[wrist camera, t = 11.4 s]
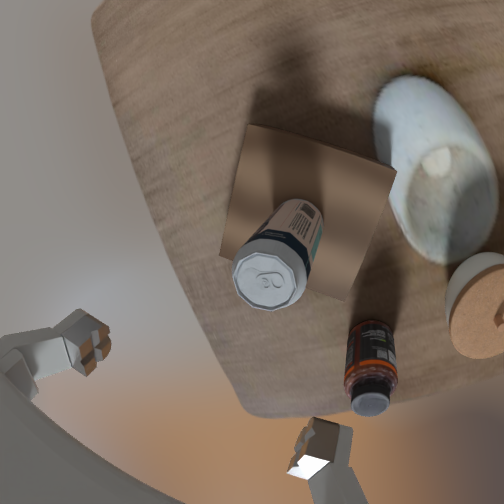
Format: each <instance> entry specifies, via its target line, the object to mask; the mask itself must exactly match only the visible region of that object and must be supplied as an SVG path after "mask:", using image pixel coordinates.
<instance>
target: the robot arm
mask: <svg viewBox="0 0 504 504" xmlns="http://www.w3.org/2000/svg"><path fill="white" fill-rule="evenodd" d="M109 333H110V330H109V326H107V325H106V324H104V323H102V322H101V321H99V320H98V319H96V318H94V317H93V316H91V315H90V314H88V313H87V312H85V311H83V310H82V309H76V310H75V311H74V312H72V313H71V314H70V315H69V316H67V317H66V318H65V319H64V320H62V321H61V322H60V323H59V324H57V325H56V326H55V327H54V328H50V327H48V328H43V329H38V330H32V331H26V332H21V333H15V334H9V335H4V336H3V337H2V338H0V504H185V503H183V502H181V501H179V500H177V499H175V498H172V497H170V496H168V495H166V494H164V493H162V492H160V491H158V490H156V489H154V488H153V487H151V486H149V485H147V484H145V483H143V482H141V481H140V480H138V479H136V478H134V477H133V476H131V475H129V474H127V473H126V472H124V471H122V470H121V469H119V468H118V467H116V466H114V465H113V464H111V463H109V462H108V461H106V460H105V459H104V458H102V457H101V456H99V455H98V454H96V453H95V452H93V451H92V450H90V449H89V448H88V447H86V446H85V445H83V444H82V443H80V442H79V441H78V440H77V439H75V438H74V437H73V436H71V435H70V434H69V433H67V432H66V431H65V430H64V429H62V428H61V427H60V426H59V425H57V424H56V423H55V422H54V421H52V419H50V418H49V417H48V416H47V415H46V414H45V413H43V412H42V411H41V410H40V409H39V408H38V407H36V405H34V404H33V403H32V402H31V400H32V399H33V398H34V397H35V395H36V394H37V393H38V387H37V385H36V383H35V380H38V379H41V378H44V377H47V376H50V375H53V374H56V373H59V372H62V371H65V370H67V369H70V368H74V369H75V370H77V371H78V372H80V373H81V374H83V375H84V376H86V377H87V376H88V375H89V374H90V373H91V372H92V371H93V370H94V369H95V368H96V367H97V362H99V361H103V360H104V359H105V358H106V357H107V356H108V354H109V352H110V350H111V340H110V338H109V336H108V334H109ZM352 436H353V429H352V428H351V427H348V426H344V425H340V424H338V423H334V422H331V421H327V420H323V419H320V418H316V417H312V418H311V419H310V420H309V422H308V426H306V427H304V428H303V429H302V431H301V433H300V435H299V436H298V439H297V441H296V444H295V447H294V449H295V452H296V454H295V455H294V456H293V457H292V458H291V460H290V464H289V467H288V470H287V474H290V475H294V476H297V477H300V478H304V479H307V480H308V484H309V487H310V490H311V494H312V497H313V501H314V504H368V502H367V499H366V497H365V495H364V493H363V491H362V488H361V486H360V484H359V482H358V480H357V478H356V476H355V474H354V471H353V469H352V467H348V464H349V457H350V450H351V443H352Z"/></svg>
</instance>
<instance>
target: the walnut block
mask: <svg viewBox="0 0 504 504" xmlns="http://www.w3.org/2000/svg"><path fill="white" fill-rule="evenodd" d="M396 173H397V171H396V170H395V169H394V168H393V167H392V166H390V165H387V164H385V163H382V162H380V161H377V160H374V159H372V158H369V157H366V156H363V155H361V154H358V153H355V152H352V151H349V150H346V149H344V148H341V147H338V146H335V145H331V144H328V143H325V142H322V141H319V140H316V139H312V138H309V137H306V136H302V135H299V134H295V133H292V132H288V131H285V130H281V129H277V128H273V127H270V126H266V125H262V124H248V125H247V130H246V134H245V138H244V143H243V147H242V151H241V156H240V160H239V164H238V169H237V173H236V178H235V182H234V187H233V191H232V196H231V201H230V205H229V210H228V215H227V219H226V224H225V229H224V234H223V239H222V244H221V249H220V253H219V256H221V257H224V258H226V259H229V260H232V261H233V260H234V258H235V256H236V253H237V252H238V251H239V249H240V248H241V247H242V246H243V245H244V244H245V243H246V242H247V240H248V239H249V238H250V237H251V236H252V235H253V234H254V233H255V232H256V231H257V230H258V228H259V227H260V226H261V225H262V224H263V223H264V222H265V221H266V220H267V219H268V218H269V216H270V215H271V214H272V213H273V212H274V211H275V210H276V209H277V208H278V207H279V206H280V205H281V204H282V203H284V202H286V201H288V200H291V199H303V200H306V201H308V202H310V203H312V204H313V205H314V206H315V207H317V209H318V210H319V211H320V213H321V215H322V218H323V225H324V228H323V232H322V235H321V239H320V242H319V245H318V249H317V252H316V255H315V258H314V262H313V265H312V268H311V271H310V274H309V277H308V280H307V284H306V287H305V288H308V289H311V290H313V291H316V292H319V293H322V294H325V295H327V296H330V297H333V298H336V299H338V300H341V301H344V302H345V300H346V297H347V295H348V293H349V291H350V289H351V287H352V284H353V282H354V280H355V278H356V276H357V273H358V271H359V269H360V266H361V264H362V262H363V259H364V257H365V255H366V252H367V250H368V248H369V245H370V243H371V240H372V238H373V235H374V233H375V230H376V228H377V225H378V223H379V220H380V218H381V215H382V212H383V210H384V207H385V204H386V202H387V199H388V196H389V193H390V191H391V188H392V185H393V182H394V179H395V176H396Z"/></svg>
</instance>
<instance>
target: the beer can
mask: <svg viewBox="0 0 504 504" xmlns="http://www.w3.org/2000/svg"><path fill="white" fill-rule="evenodd" d="M323 228H324V225H323V218H322V215H321V213H320V211H319V210H318V209H317V207H315V206H314V205H313V204H312V203H310V202H308V201H306V200H303V199H291V200H288V201H286V202H284V203H282V204H281V205H280V206H279V207H278V208H277V209H276V210H275V211H274V212H273V213H272V214H271V215H270V216H269V218H268V219H267V220H266V221H265V222H264V223H263V224H262V225H261V226H260V227H259V228H258V230H257V231H256V232H255V233H254V234H253V235H252V236H251V237H250V238H249V239H248V240H247V242H246V243H245V244H244V245H243V246H242V247H241V248H240V249H239V251H238V252H237V253H236V256H235V258H234V260H233V264H232V276H233V280H234V284H235V287H236V290H237V293H238V295H239V296H240V297H241V298H242V299H244V300H245V301H246V302H247V303H248V304H249V305H250V306H252V307H253V308H258V309H263V310H267V311H274V310H277V309H280V308H283V307H287V306H289V305H291V304H293V303H294V302H296V301H297V300H298V299H299V298H300V297H301V295H302V293H303V292H304V290H305V287H306V284H307V280H308V277H309V274H310V271H311V268H312V265H313V262H314V258H315V255H316V252H317V249H318V245H319V242H320V239H321V235H322V232H323Z"/></svg>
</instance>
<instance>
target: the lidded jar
mask: <svg viewBox="0 0 504 504" xmlns="http://www.w3.org/2000/svg"><path fill="white" fill-rule="evenodd" d="M445 314H446V320H447V324H448V327H449V334H450V337H451V340H452V343H453V345H454V346H455V348H456V349H457V350H458V351H459V352H460V353H461V354H463V355H465V356H467V357H470V358H475V359H483V358H489V357H492V356H495V355H498V354H500V353H502V352H504V255H502V254H499V253H495V252H483V253H478V254H476V255H473V256H471V257H470V258H468V259H466V260H465V261H464V262H463V263H462V264H461V265H460V266H459V267H458V268H457V269H456V270H455V272H454V273H453V275H452V277H451V279H450V281H449V283H448V286H447V290H446V295H445Z"/></svg>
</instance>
